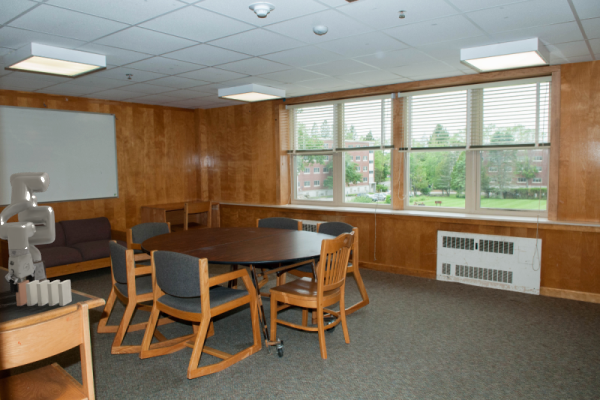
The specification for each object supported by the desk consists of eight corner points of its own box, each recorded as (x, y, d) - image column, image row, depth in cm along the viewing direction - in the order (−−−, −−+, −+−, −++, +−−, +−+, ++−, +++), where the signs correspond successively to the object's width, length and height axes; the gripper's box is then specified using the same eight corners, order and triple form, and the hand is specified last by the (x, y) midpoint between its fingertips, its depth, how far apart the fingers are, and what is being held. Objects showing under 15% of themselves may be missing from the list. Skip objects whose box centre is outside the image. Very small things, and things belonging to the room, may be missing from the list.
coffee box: (48, 292, 203) (46, 260, 202) (36, 296, 197) (33, 263, 196) (35, 290, 206) (33, 259, 205) (23, 294, 201) (20, 262, 199)
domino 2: (27, 305, 184) (25, 283, 183) (36, 301, 190) (35, 280, 189) (31, 305, 184) (29, 283, 183) (40, 301, 190) (38, 280, 189)
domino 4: (48, 305, 183) (47, 283, 182) (57, 301, 189) (56, 280, 188) (52, 305, 183) (51, 283, 182) (61, 301, 189) (59, 279, 188)
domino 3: (38, 305, 183) (36, 283, 183) (47, 301, 189) (45, 280, 189) (42, 305, 183) (40, 283, 182) (51, 301, 189) (49, 280, 188)
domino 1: (16, 305, 184) (15, 284, 183) (26, 301, 190) (25, 280, 189) (20, 305, 184) (18, 283, 183) (30, 301, 190) (28, 280, 189)
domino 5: (59, 305, 183) (57, 283, 182) (68, 301, 189) (66, 279, 188) (63, 305, 183) (61, 283, 182) (71, 301, 189) (70, 279, 188)
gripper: (12, 256, 176) (16, 295, 178) (40, 247, 193) (43, 283, 195) (-4, 256, 177) (-1, 295, 179) (25, 247, 194) (28, 282, 196)
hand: (22, 288), depth 187 cm, fingers open, 9 cm apart
